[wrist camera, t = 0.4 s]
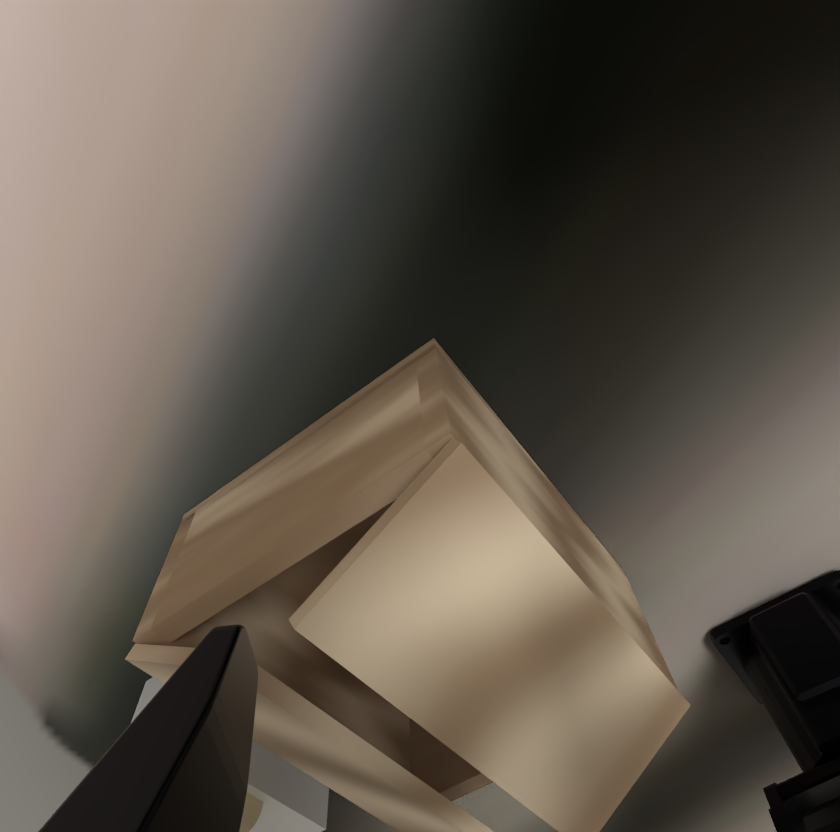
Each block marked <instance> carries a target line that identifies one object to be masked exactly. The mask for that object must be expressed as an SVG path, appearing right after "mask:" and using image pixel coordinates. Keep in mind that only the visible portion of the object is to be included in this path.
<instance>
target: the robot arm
mask: <svg viewBox="0 0 840 832" xmlns="http://www.w3.org/2000/svg"><path fill="white" fill-rule="evenodd" d="M710 637H711V640H712V641H713V643H714V645H715V647H716V648H717V649H718V650H719V652H720V653H721V654H722V656H723V657H724V658H725V659H726V661H727V662H728V663H729V665H730V666H731V667H732V669H733V670H734V671H735V672H736V674H737V675H738V676H739V678H740V679H741V680H742V681H743V683H744V684H745V685H746V687H747V688H748V689H749V691H750V692H751V693H752V694H753V696H754V697H755V698H756V700H757V701H758V702H759V703H760V704H764V705H765V707H766V708H767V710H768V712H769V714H770V715H771V717H772V719H773V721H774V722H775V724H776V726H777V728H778V729H779V731H780V733H781V735H782V736H783V738H784V740H785V742H786V743H787V745H788V747H789V748H790V750H791V752H792V754H793V755H794V757H795V759H796V761H797V762H798V764H799V766H800V768H801V769H802V771H803V773H801V774H799V775H796V776H794V777H792V778H790V779H788V780H786V781H784V782H782V783H779V784H776V783H773V784H771V785H769V786H767V787H765V788H763V790H764V792H765V795H766V798H767V800H768V803H769V805H770V808H771V809H769V813H770V815H771V818H772V820H773V823H774V826H775V828H776V831H777V832H840V570H839V571H835V572H832V573H830V574H828V575H826V576H824V577H822V578H820V579H818V580H816V581H814V582H812V583H809V584H807V585H805V586H803V587H801V588H799V589H797V590H795V591H793V592H791V593H789V594H787V595H785V596H783V597H780V598H778V599H776V600H774V601H772V602H770V603H768V604H766V605H764V606H762V607H760V608H758V609H756V610H753V611H751V612H749V613H747V614H745V615H743V616H741V617H739V618H737V619H735V620H733V621H731V622H729V623H727V624H724V625H722V626H720V627H718V628H716V629H715V630H713V631H712V633H711V635H710ZM257 687H258V666H257V661H256V658H255V655H254V652H253V649H252V646H251V643H250V640H249V636H248V633H247V631H246V629H245V627H244V626H242V625H239V624H237V625H227V626H217V627H215V628H213V629H212V630H210V631H209V632H208V634H207V635H206V636H205V637H204V638H203V640H202V641H201V642H200V643H199V644H198V645H197V647H196V648H195V649H194V650H193V651H192V652H191V654H190V655H189V656H188V657H187V658H186V659H185V661H184V662H183V663H182V664H181V665H180V666H179V668H178V669H177V670H176V671H175V672H174V673H173V675H172V676H171V677H170V678H169V679H168V681H167V682H166V683H165V684H164V685H163V686H162V688H161V689H160V690H159V691H158V692H157V693H156V695H155V696H154V697H153V698H152V699H151V700H150V702H149V703H148V704H147V705H146V706H145V707H144V709H143V710H142V711H141V712H140V713H139V714H138V716H137V717H136V718H135V719H134V720H133V722H132V723H131V724H130V725H129V726H128V727H127V729H126V730H125V731H124V732H123V733H122V734H121V736H120V737H119V738H118V739H117V740H116V741H115V743H114V744H113V745H112V746H111V747H110V748H109V750H108V751H107V752H106V753H105V754H104V755H103V757H102V758H101V759H100V760H99V761H98V762H97V764H96V765H95V766H94V767H93V768H92V770H91V771H90V772H89V773H88V774H87V775H86V777H85V778H84V779H83V780H82V781H81V782H80V784H79V785H78V786H77V787H76V788H75V789H74V791H73V792H72V793H71V794H70V795H69V796H68V798H67V799H66V800H65V801H64V802H63V803H62V805H61V806H60V807H59V808H58V809H57V811H56V812H55V813H54V814H53V815H52V816H51V818H50V819H49V820H48V821H47V822H46V823H45V825H44V826H43V827H42V828H41V829H40V830H39V832H239V830H240V825H241V821H242V816H243V811H244V805H245V800H246V794H247V787H248V778H249V769H250V759H251V748H252V738H253V728H254V717H255V707H256V697H257Z"/></svg>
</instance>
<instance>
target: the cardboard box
mask: <svg viewBox="0 0 840 832" xmlns="http://www.w3.org/2000/svg"><path fill="white" fill-rule="evenodd" d="M451 439H454V440H456V441H459V442H461V443H462V444H463V445H464V446H465V447H466V449H467V450H468V451H469V452H470V453H471V454H472V455H473V457H474V458H475V459H476V460H477V461H478V462H479V463H480V465H481V466H482V467H483V468H484V469H485V470H486V471H487V473H488V474H489V475H490V476H491V477H492V478H493V479H494V481H495V482H496V483H497V484H498V485H499V486H500V487H501V489H502V490H503V491H504V492H505V493H506V494H507V495H508V497H509V498H510V499H511V500H512V501H513V502H514V504H515V505H516V506H517V507H518V508H519V509H520V510H521V512H522V513H523V514H524V515H525V516H526V517H527V518H528V520H529V521H530V522H531V523H532V524H533V525H534V526H535V528H536V529H537V530H538V531H539V532H540V533H541V534H542V536H543V537H544V538H545V539H546V540H547V541H548V542H549V544H550V545H551V546H552V547H553V548H554V549H555V550H556V552H557V553H558V554H559V555H560V556H561V557H562V558H563V560H564V561H565V562H566V563H567V564H568V565H569V566H570V568H571V569H572V570H573V571H574V572H575V573H576V574H577V576H578V577H579V578H580V579H581V580H582V581H583V582H584V584H585V585H586V586H587V587H588V588H589V589H590V590H591V592H592V593H593V594H594V595H595V596H596V597H597V599H598V600H599V601H600V602H601V603H602V604H603V605H604V607H605V608H606V609H607V610H608V611H609V612H610V613H611V615H612V616H613V617H614V618H615V619H616V620H617V621H618V623H619V624H620V625H621V626H622V627H623V628H624V629H625V631H626V632H627V633H628V634H629V635H630V636H631V637H632V639H633V640H634V641H635V642H636V643H637V644H638V645H639V647H640V648H641V649H642V650H643V651H644V652H645V653H646V655H647V656H648V657H649V658H650V659H651V660H652V661H653V663H654V664H655V665H656V666H657V667H658V668H659V669H660V671H661V672H662V673H663V674H664V675H665V676H666V677H667V679H668V680H669V681H670V682H671V683H672V684H673V686H674V687H675V688H676V689H677V687H676V685H675V683H674V681H673V678H672V676H671V674H670V672H669V670H668V667H667V665H666V663H665V661H664V658H663V656H662V654H661V652H660V650H659V647H658V645H657V643H656V641H655V639H654V636H653V634H652V632H651V630H650V628H649V625H648V623H647V621H646V619H645V617H644V614H643V612H642V610H641V608H640V606H639V603H638V601H637V599H636V597H635V595H634V592H633V590H632V588H631V586H630V584H629V581H628V579H627V577H626V575H625V573H624V571H623V570H622V569H621V568H620V567H619V565H618V564H617V563H616V562H615V560H614V559H613V558H612V557H611V555H610V554H609V553H608V552H607V551H606V549H605V548H604V547H603V546H602V544H601V543H600V542H599V541H598V539H597V538H596V537H595V536H594V535H593V533H592V532H591V531H590V530H589V528H588V527H587V526H586V525H585V523H584V522H583V521H582V520H581V519H580V517H579V516H578V515H577V514H576V512H575V511H574V510H573V509H572V507H571V506H570V505H569V504H568V503H567V501H566V500H565V499H564V498H563V496H562V495H561V494H560V493H559V491H558V490H557V489H556V488H555V487H554V485H553V484H552V483H551V482H550V480H549V479H548V478H547V477H546V476H545V474H544V473H543V472H542V471H541V469H540V468H539V467H538V466H537V464H536V463H535V462H534V461H533V460H532V458H531V457H530V456H529V455H528V453H527V452H526V451H525V450H524V448H523V447H522V446H521V445H520V444H519V442H518V441H517V440H516V439H515V437H514V436H513V435H512V434H511V432H510V431H509V430H508V429H507V428H506V426H505V425H504V424H503V423H502V421H501V420H500V419H499V418H498V416H497V415H496V414H495V413H494V412H493V410H492V409H491V408H490V407H489V405H488V404H487V403H486V402H485V401H484V399H483V398H482V397H481V396H480V394H479V393H478V392H477V391H476V389H475V388H474V387H473V386H472V385H471V383H470V382H469V381H468V380H467V378H466V377H465V376H464V375H463V373H462V372H461V371H460V370H459V369H458V367H457V366H456V365H455V364H454V362H453V361H452V360H451V359H450V357H449V356H448V355H447V354H446V353H445V351H444V350H443V349H442V348H441V346H440V345H439V344H438V343H437V341H436V340H435V339H434V338H433V339H432V340H430V341H429V342H427V343H426V344H425V345H423V346H422V347H420V348H419V349H417V350H416V351H415V352H413V353H412V354H410V355H409V356H408V357H406V358H405V359H403V360H402V361H400V362H399V363H398V364H396V365H395V366H393V367H392V368H391V369H389V370H388V371H386V372H385V373H384V374H382V375H381V376H379V377H378V378H376V379H375V380H374V381H372V382H371V383H369V384H368V385H367V386H365V387H364V388H362V389H361V390H360V391H358V392H357V393H355V394H354V395H352V396H351V397H350V398H348V399H347V400H345V401H344V402H343V403H341V404H340V405H338V406H337V407H335V408H334V409H333V410H331V411H330V412H328V413H327V414H326V415H324V416H323V417H321V418H320V419H319V420H317V421H316V422H314V423H313V424H311V425H310V426H309V427H307V428H306V429H304V430H303V431H302V432H300V433H299V434H297V435H296V436H295V437H293V438H292V439H290V440H289V441H287V442H286V443H285V444H283V445H282V446H280V447H279V448H278V449H276V450H275V451H273V452H272V453H270V454H269V455H268V456H266V457H265V458H263V459H262V460H261V461H259V462H258V463H256V464H255V465H254V466H252V467H251V468H249V469H248V470H246V471H245V472H244V473H242V474H241V475H239V476H238V477H237V478H235V479H234V480H232V481H231V482H230V483H228V484H227V485H225V486H224V487H222V488H221V489H220V490H218V491H217V492H215V493H214V494H213V495H211V496H210V497H208V498H207V499H205V500H204V501H203V502H201V503H200V504H198V505H197V506H196V507H194V508H193V509H191V510H190V511H189V512H187V513H186V514H184V516H183V519H182V521H181V524H180V526H179V528H178V531H177V533H176V536H175V538H174V541H173V543H172V545H171V548H170V550H169V553H168V555H167V558H166V560H165V563H164V565H163V567H162V570H161V572H160V575H159V577H158V580H157V582H156V584H155V587H154V589H153V592H152V594H151V597H150V599H149V601H148V604H147V606H146V609H145V611H144V614H143V616H142V619H141V621H140V623H139V626H138V628H137V631H136V633H135V636H134V638H133V640H132V641H134V642H135V643H137V644H147V645H162V646H177V647H192V648H196V647H197V645H198V644H199V643H200V642H201V641H202V640H203V638H204V637H205V636H206V635H207V634H208V632H209V631H210V630H212V629H213V628H215V627H217V626H227V625H237V624H239V625H242V626H244V627H245V629H246V631H247V633H248V636H249V640H250V643H251V646H252V649H253V652H254V655H255V658H256V661H257V665H258V666H260V667H261V668H262V669H264V670H265V671H267V672H268V673H270V674H271V675H272V676H274V677H275V678H277V679H278V680H279V681H281V682H282V683H284V684H285V685H287V686H288V687H289V688H291V689H292V690H294V691H295V692H297V693H298V694H299V695H301V696H302V697H304V698H305V699H306V700H308V701H309V702H311V703H312V704H314V705H315V706H316V707H318V708H319V709H321V710H322V711H323V712H325V713H326V714H328V715H329V716H331V717H332V718H333V719H335V720H336V721H338V722H339V723H341V724H342V725H343V726H345V727H346V728H348V729H349V730H350V731H352V732H353V733H355V734H356V735H358V736H359V737H360V738H362V739H363V740H365V741H366V742H367V743H369V744H370V745H372V746H373V747H375V748H376V749H377V750H379V751H380V752H382V753H383V754H385V755H386V756H387V757H389V758H390V759H392V760H393V761H394V762H396V763H397V764H399V765H400V766H402V767H403V768H404V769H406V770H407V771H409V772H410V773H411V774H413V775H414V776H416V777H417V778H419V779H420V780H421V781H423V782H424V783H426V784H427V785H429V786H430V787H431V788H433V789H434V790H436V791H437V792H438V793H440V794H441V795H443V796H444V797H446V798H447V799H448V800H450V801H453V800H455V799H457V798H459V797H462V796H464V795H466V794H468V793H470V792H472V791H475V790H477V789H479V788H481V787H483V786H486V785H488V784H490V783H492V782H493V781H492V780H490V779H489V778H488V777H486V776H485V775H484V774H482V773H481V772H480V771H479V770H477V769H476V768H475V767H473V766H472V765H471V764H469V763H468V762H467V761H466V760H464V759H463V758H462V757H460V756H459V755H458V754H456V753H455V752H454V751H452V750H451V749H450V748H449V747H447V746H446V745H445V744H443V743H442V742H441V741H439V740H438V739H437V738H435V737H434V736H433V735H432V734H430V733H429V732H428V731H426V730H425V729H424V728H422V727H421V726H420V725H419V724H417V723H416V722H415V721H413V720H412V719H411V718H409V717H408V716H407V715H405V714H404V713H403V712H402V711H400V710H399V709H398V708H396V707H395V706H394V705H392V704H391V703H390V702H389V701H387V700H386V699H385V698H383V697H382V696H381V695H379V694H378V693H377V692H375V691H374V690H373V689H372V688H370V687H369V686H368V685H366V684H365V683H364V682H362V681H361V680H360V679H358V678H357V677H356V676H355V675H353V674H352V673H351V672H349V671H348V670H347V669H345V668H344V667H343V666H342V665H340V664H339V663H338V662H336V661H335V660H334V659H332V658H331V657H330V656H328V655H327V654H326V653H325V652H323V651H322V650H321V649H319V648H318V647H317V646H315V645H314V644H313V643H312V642H310V641H309V640H308V639H306V638H305V637H304V636H302V635H301V634H300V633H298V632H297V631H296V630H295V629H294V628H293V626H292V625H291V623H290V621H289V618H290V617H291V616H292V615H293V614H294V613H295V612H296V610H297V609H298V608H299V607H300V606H301V605H302V604H303V603H304V602H305V600H306V599H307V598H308V597H309V596H310V595H311V594H312V593H313V592H314V590H315V589H316V588H317V587H318V586H319V585H320V584H321V583H322V582H323V580H324V579H325V578H326V577H327V576H328V575H329V574H330V573H331V572H332V571H333V569H334V568H335V567H336V566H337V565H338V564H339V563H340V562H341V561H342V559H343V558H344V557H345V556H346V555H347V554H348V553H349V552H350V551H351V549H352V548H353V547H354V546H355V545H356V544H357V543H358V542H359V541H360V539H361V538H362V537H363V536H364V535H365V534H366V533H367V532H368V531H369V530H370V528H371V527H372V526H373V525H374V524H375V523H376V522H377V521H378V520H379V518H380V517H381V516H382V515H383V514H384V513H385V512H386V511H387V510H388V508H389V507H390V506H391V505H392V504H393V503H394V502H395V501H396V500H397V498H398V497H399V496H400V495H401V494H402V493H403V492H404V491H405V490H406V488H407V487H408V486H409V485H410V484H411V483H412V482H413V481H414V480H415V479H416V477H417V476H418V475H419V474H420V473H421V472H422V471H423V470H424V469H425V467H426V466H427V465H428V464H429V463H430V462H431V461H432V460H433V459H434V457H435V456H436V455H437V454H438V453H439V452H440V451H441V450H442V449H443V447H444V446H445V445H446V444H447V443H448V442H449V441H450V440H451ZM677 690H678V689H677Z"/></svg>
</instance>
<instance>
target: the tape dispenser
mask: <svg viewBox="0 0 840 832" xmlns="http://www.w3.org/2000/svg"><path fill="white" fill-rule="evenodd" d="M163 685H164V684H163V683H162V682H160V681H159V680H157V679H156V678H154V677H152V678H151V679H149V680H148V681H146V683H145V686H144V688H143V691H142V694H141V697H140V699H139V702H138V705H137V708H136V710H135V713H134V716H133V719H132V721H131V723H132V722H133V720H134V719H135V718H136V717H137V716H138V714H139V713H140V712H141V711H142V710H143V709H144V707H145V706H146V705H147V704H148V703H149V702H150V700H151V699H152V698H153V697H154V696H155V695H156V693H157V692H158V691H159V690H160V689H161V688H162V686H163ZM328 796H329V787H327V786H325V785H324V784H322V783H321V782H319V781H318V780H316V779H314V778H313V777H311V776H310V775H308V774H306V773H305V772H303V771H302V770H300V769H298V768H297V767H295V766H294V765H292V764H291V763H289V762H287V761H286V760H284V759H283V758H281V757H279V756H278V755H276V754H275V753H273V752H271V751H270V750H268V749H267V748H265V747H264V746H262V745H260V744H259V743H257V742H256V741H254V740H252V748H251V759H250V769H249V778H248V787H247V794H246V800H245V805H244V811H243V816H242V821H241V825H240V830H239V832H322V831H324V830H326V825H327V810H328Z"/></svg>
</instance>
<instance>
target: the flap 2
mask: <svg viewBox="0 0 840 832" xmlns="http://www.w3.org/2000/svg"><path fill="white" fill-rule="evenodd" d="M289 621H290V623H291V625H292V626H293V628H294V629H295V630H296V631H297V632H298V633H300V634H301V635H302V636H304V637H305V638H306V639H308V640H309V641H310V642H312V643H313V644H314V645H315V646H317V647H318V648H319V649H321V650H322V651H323V652H325V653H326V654H327V655H328V656H330V657H331V658H332V659H334V660H335V661H336V662H338V663H339V664H340V665H342V666H343V667H344V668H345V669H347V670H348V671H349V672H351V673H352V674H353V675H355V676H356V677H357V678H358V679H360V680H361V681H362V682H364V683H365V684H366V685H368V686H369V687H370V688H372V689H373V690H374V691H375V692H377V693H378V694H379V695H381V696H382V697H383V698H385V699H386V700H387V701H389V702H390V703H391V704H392V705H394V706H395V707H396V708H398V709H399V710H400V711H402V712H403V713H404V714H405V715H407V716H408V717H409V718H411V719H412V720H413V721H415V722H416V723H417V724H419V725H420V726H421V727H422V728H424V729H425V730H426V731H428V732H429V733H430V734H432V735H433V736H434V737H435V738H437V739H438V740H439V741H441V742H442V743H443V744H445V745H446V746H447V747H449V748H450V749H451V750H452V751H454V752H455V753H456V754H458V755H459V756H460V757H462V758H463V759H464V760H466V761H467V762H468V763H469V764H471V765H472V766H473V767H475V768H476V769H477V770H479V771H480V772H481V773H482V774H484V775H485V776H486V777H488V778H489V779H490V780H492V781H493V782H494V783H496V784H497V785H498V786H499V787H501V788H502V789H503V790H505V791H506V792H507V793H509V794H510V795H511V796H512V797H514V798H515V799H516V800H518V801H519V802H520V803H522V804H523V805H524V806H526V807H527V808H528V809H529V810H531V811H532V812H533V813H535V814H536V815H537V816H539V817H540V818H541V819H543V820H544V821H545V822H546V823H548V824H549V825H550V826H552V827H553V828H554V829H556V830H557V831H558V832H600V830H601V829H602V828H603V826H604V825H605V824H606V822H607V821H608V819H609V818H610V817H611V815H612V814H613V812H614V811H615V810H616V808H617V807H618V805H619V804H620V803H621V801H622V800H623V799H624V797H625V796H626V794H627V793H628V792H629V790H630V789H631V787H632V786H633V785H634V783H635V782H636V781H637V779H638V778H639V776H640V775H641V774H642V772H643V771H644V769H645V768H646V767H647V765H648V764H649V763H650V761H651V760H652V758H653V757H654V756H655V754H656V753H657V751H658V750H659V749H660V747H661V746H662V744H663V743H664V742H665V740H666V739H667V738H668V736H669V735H670V733H671V732H672V731H673V729H674V728H675V726H676V725H677V724H678V722H679V721H680V720H681V718H682V717H683V715H684V714H685V713H686V711H687V710H688V708H689V707H690V706H691V705H690V704H689V703H688V702H687V700H686V699H685V698H684V697H683V696H682V695H681V694H680V692H679V691H678V690H677V689H676V688H675V687H674V686H673V684H672V683H671V682H670V681H669V680H668V679H667V677H666V676H665V675H664V674H663V673H662V672H661V671H660V669H659V668H658V667H657V666H656V665H655V664H654V663H653V661H652V660H651V659H650V658H649V657H648V656H647V655H646V653H645V652H644V651H643V650H642V649H641V648H640V647H639V645H638V644H637V643H636V642H635V641H634V640H633V639H632V637H631V636H630V635H629V634H628V633H627V632H626V631H625V629H624V628H623V627H622V626H621V625H620V624H619V623H618V621H617V620H616V619H615V618H614V617H613V616H612V615H611V613H610V612H609V611H608V610H607V609H606V608H605V607H604V605H603V604H602V603H601V602H600V601H599V600H598V599H597V597H596V596H595V595H594V594H593V593H592V592H591V590H590V589H589V588H588V587H587V586H586V585H585V584H584V582H583V581H582V580H581V579H580V578H579V577H578V576H577V574H576V573H575V572H574V571H573V570H572V569H571V568H570V566H569V565H568V564H567V563H566V562H565V561H564V560H563V558H562V557H561V556H560V555H559V554H558V553H557V552H556V550H555V549H554V548H553V547H552V546H551V545H550V544H549V542H548V541H547V540H546V539H545V538H544V537H543V536H542V534H541V533H540V532H539V531H538V530H537V529H536V528H535V526H534V525H533V524H532V523H531V522H530V521H529V520H528V518H527V517H526V516H525V515H524V514H523V513H522V512H521V510H520V509H519V508H518V507H517V506H516V505H515V504H514V502H513V501H512V500H511V499H510V498H509V497H508V495H507V494H506V493H505V492H504V491H503V490H502V489H501V487H500V486H499V485H498V484H497V483H496V482H495V481H494V479H493V478H492V477H491V476H490V475H489V474H488V473H487V471H486V470H485V469H484V468H483V467H482V466H481V465H480V463H479V462H478V461H477V460H476V459H475V458H474V457H473V455H472V454H471V453H470V452H469V451H468V450H467V449H466V447H465V446H464V445H463V444H462V443H461V442H459V441H456V440H454V439H451V440H450V441H449V442H448V443H447V444H446V445H445V446H444V447H443V449H442V450H441V451H440V452H439V453H438V454H437V455H436V456H435V457H434V459H433V460H432V461H431V462H430V463H429V464H428V465H427V466H426V467H425V469H424V470H423V471H422V472H421V473H420V474H419V475H418V476H417V477H416V479H415V480H414V481H413V482H412V483H411V484H410V485H409V486H408V487H407V488H406V490H405V491H404V492H403V493H402V494H401V495H400V496H399V497H398V498H397V500H396V501H395V502H394V503H393V504H392V505H391V506H390V507H389V508H388V510H387V511H386V512H385V513H384V514H383V515H382V516H381V517H380V518H379V520H378V521H377V522H376V523H375V524H374V525H373V526H372V527H371V528H370V530H369V531H368V532H367V533H366V534H365V535H364V536H363V537H362V538H361V539H360V541H359V542H358V543H357V544H356V545H355V546H354V547H353V548H352V549H351V551H350V552H349V553H348V554H347V555H346V556H345V557H344V558H343V559H342V561H341V562H340V563H339V564H338V565H337V566H336V567H335V568H334V569H333V571H332V572H331V573H330V574H329V575H328V576H327V577H326V578H325V579H324V580H323V582H322V583H321V584H320V585H319V586H318V587H317V588H316V589H315V590H314V592H313V593H312V594H311V595H310V596H309V597H308V598H307V599H306V600H305V602H304V603H303V604H302V605H301V606H300V607H299V608H298V609H297V610H296V612H295V613H294V614H293V615H292V616H291V617H290V618H289Z"/></svg>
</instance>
